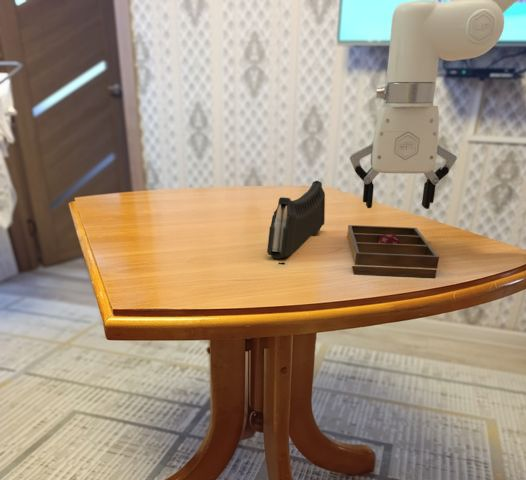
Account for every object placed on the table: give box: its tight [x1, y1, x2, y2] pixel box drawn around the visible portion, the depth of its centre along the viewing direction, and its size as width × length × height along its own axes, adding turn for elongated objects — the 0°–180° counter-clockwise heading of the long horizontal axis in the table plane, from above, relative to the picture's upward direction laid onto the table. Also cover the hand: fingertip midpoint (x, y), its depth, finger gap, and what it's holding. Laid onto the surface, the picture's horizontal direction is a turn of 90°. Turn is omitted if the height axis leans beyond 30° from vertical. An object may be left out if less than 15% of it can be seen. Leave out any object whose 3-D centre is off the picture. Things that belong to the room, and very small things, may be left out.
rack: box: [346, 224, 440, 279], centre depth 91 cm, size 13×20×4 cm, turn 175°
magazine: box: [266, 180, 326, 266], centre depth 96 cm, size 17×3×30 cm
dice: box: [378, 233, 401, 244], centre depth 91 cm, size 4×4×4 cm
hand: (396, 207), depth 88 cm, fingers open, 9 cm apart
